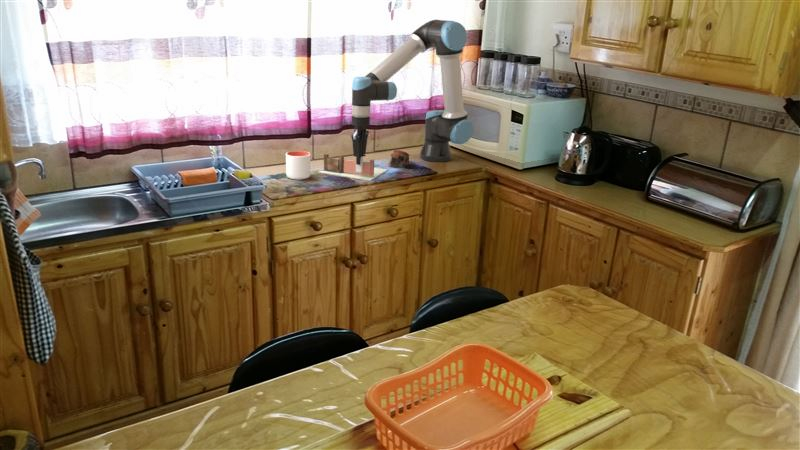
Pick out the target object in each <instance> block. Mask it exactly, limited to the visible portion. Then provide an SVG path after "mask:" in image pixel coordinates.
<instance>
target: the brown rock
mask: <svg viewBox="0 0 800 450" xmlns="http://www.w3.org/2000/svg"><path fill="white" fill-rule="evenodd" d="M390 156H391V158H390V161H389V162H388V167H393V168H397V169H399V168H400V167H405V166H406V165H407V164H408V165H409V164H410V154H409V153H408V152H406V151H403V150H399V149H395V150H393V152H392V153H391V154H390Z"/></svg>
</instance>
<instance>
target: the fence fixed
mask: <svg viewBox="0 0 800 450" xmlns="http://www.w3.org/2000/svg"><path fill="white" fill-rule="evenodd" d="M329 155H330V154H329V153H324V154H323V169H324V170H325V171H328V170H333V171H339V173H344V160H345V157H344V156H343V155H340V156H339V157H338V158H336V157H330V156H329Z"/></svg>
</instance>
